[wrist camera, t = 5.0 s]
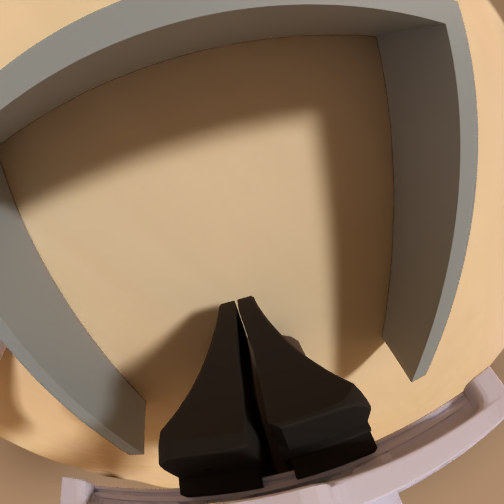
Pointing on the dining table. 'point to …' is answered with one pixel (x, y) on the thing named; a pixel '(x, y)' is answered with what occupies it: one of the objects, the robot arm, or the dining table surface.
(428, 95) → the gray rectangular arch
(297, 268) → the dining table surface
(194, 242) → the dining table surface
